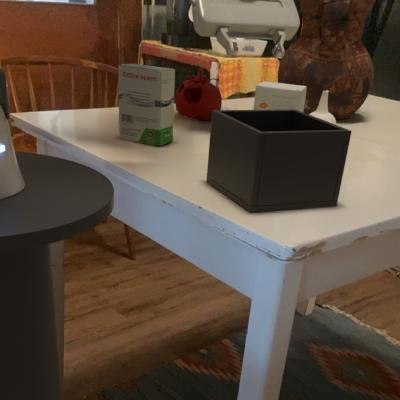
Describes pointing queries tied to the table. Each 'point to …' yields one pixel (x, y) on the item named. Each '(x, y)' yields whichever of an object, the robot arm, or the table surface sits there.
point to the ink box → (146, 103)
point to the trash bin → (276, 159)
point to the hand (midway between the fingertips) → (256, 55)
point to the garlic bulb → (324, 109)
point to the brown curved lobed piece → (331, 56)
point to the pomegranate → (198, 98)
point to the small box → (279, 96)
